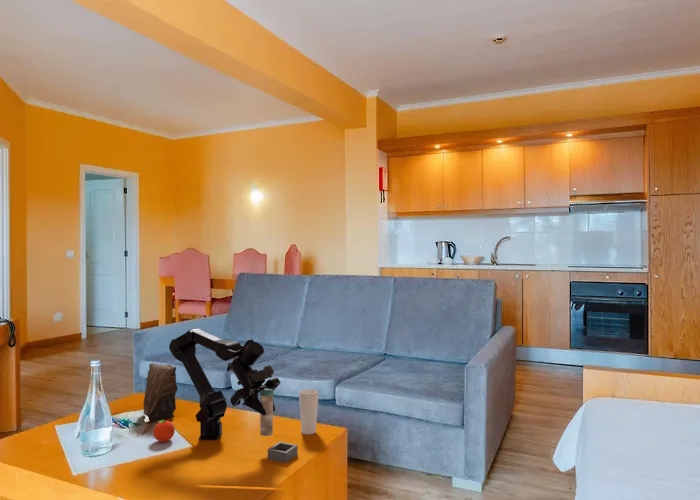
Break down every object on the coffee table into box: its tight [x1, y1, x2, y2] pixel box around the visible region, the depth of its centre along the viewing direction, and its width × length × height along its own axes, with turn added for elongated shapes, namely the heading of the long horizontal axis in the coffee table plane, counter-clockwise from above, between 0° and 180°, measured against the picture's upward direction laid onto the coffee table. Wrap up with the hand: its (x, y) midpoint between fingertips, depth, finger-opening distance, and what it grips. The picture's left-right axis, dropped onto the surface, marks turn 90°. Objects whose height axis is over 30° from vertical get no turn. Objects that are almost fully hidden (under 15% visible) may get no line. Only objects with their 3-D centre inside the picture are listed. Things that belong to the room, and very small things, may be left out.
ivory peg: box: [259, 389, 274, 437], centre depth 164 cm, size 4×4×14 cm
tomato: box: [153, 420, 176, 443], centre depth 175 cm, size 8×7×7 cm
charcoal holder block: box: [267, 441, 299, 464], centre depth 161 cm, size 7×7×4 cm
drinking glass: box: [298, 388, 319, 435], centre depth 182 cm, size 7×7×15 cm
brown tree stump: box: [143, 363, 178, 422], centre depth 200 cm, size 13×13×20 cm
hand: (269, 412), depth 164 cm, fingers closed on ivory peg, 4 cm apart
